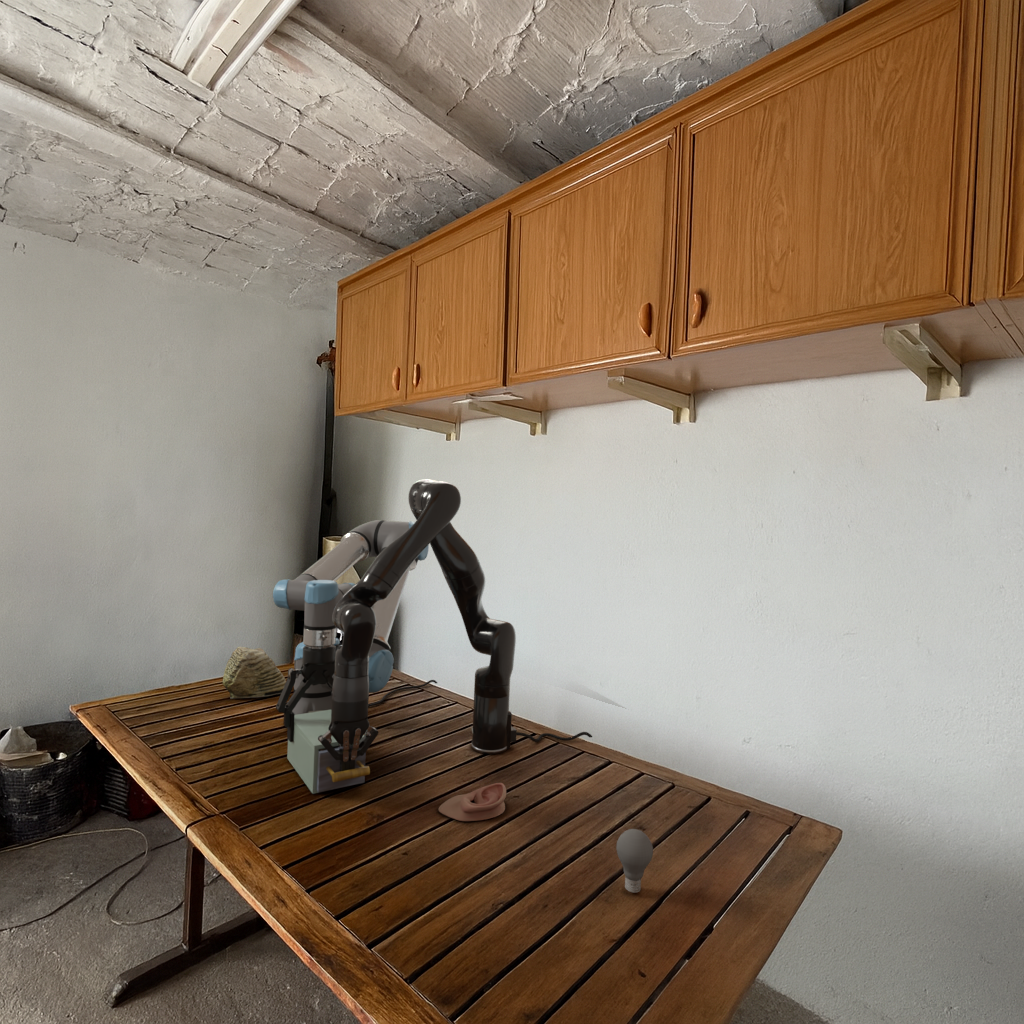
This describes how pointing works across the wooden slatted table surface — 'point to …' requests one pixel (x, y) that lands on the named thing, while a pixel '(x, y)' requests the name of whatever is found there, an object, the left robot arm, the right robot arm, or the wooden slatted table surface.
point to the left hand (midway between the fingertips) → (316, 735)
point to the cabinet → (309, 745)
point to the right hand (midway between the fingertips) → (347, 776)
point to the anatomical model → (476, 804)
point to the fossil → (252, 674)
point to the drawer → (338, 772)
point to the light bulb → (634, 857)
